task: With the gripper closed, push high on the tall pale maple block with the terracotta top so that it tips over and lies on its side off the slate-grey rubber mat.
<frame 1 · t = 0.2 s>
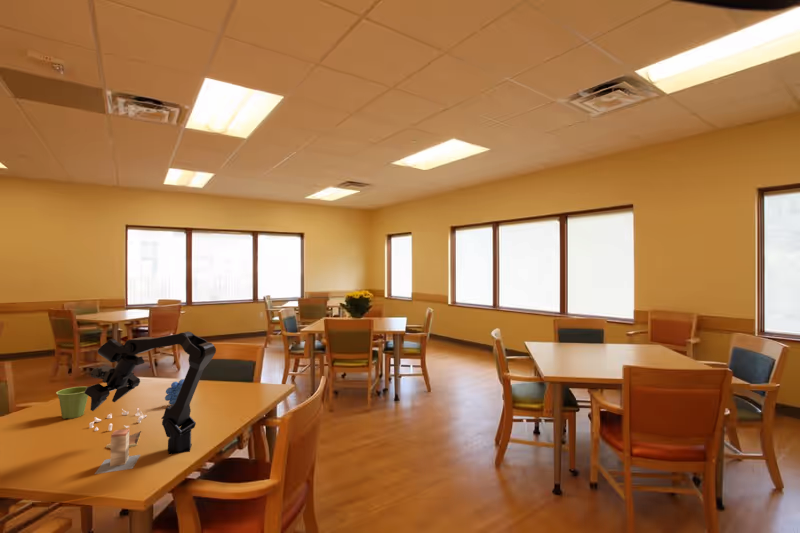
hand: (103, 405, 138), 14 cm above the table, tool tilted 30°, fingers open, 9 cm apart
grapes: (178, 404, 183), on the table
mat: (118, 465, 124), on the table
block: (119, 462, 125), resting on mat
game piece set: (118, 423, 160), on the table
plant pot: (73, 416, 166), on the table
shard: (123, 445, 140), on the table
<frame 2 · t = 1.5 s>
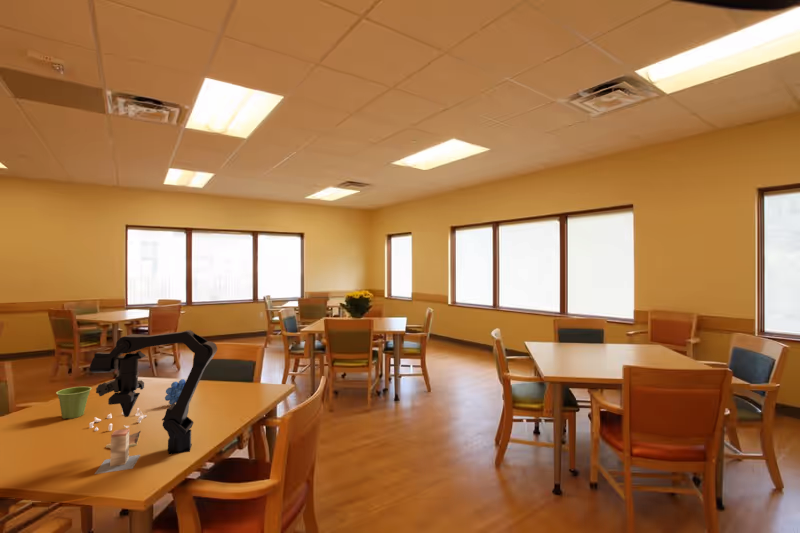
hand: (126, 416, 132), 13 cm above the table, tool pointing down, fingers closed
nothing on the table moved.
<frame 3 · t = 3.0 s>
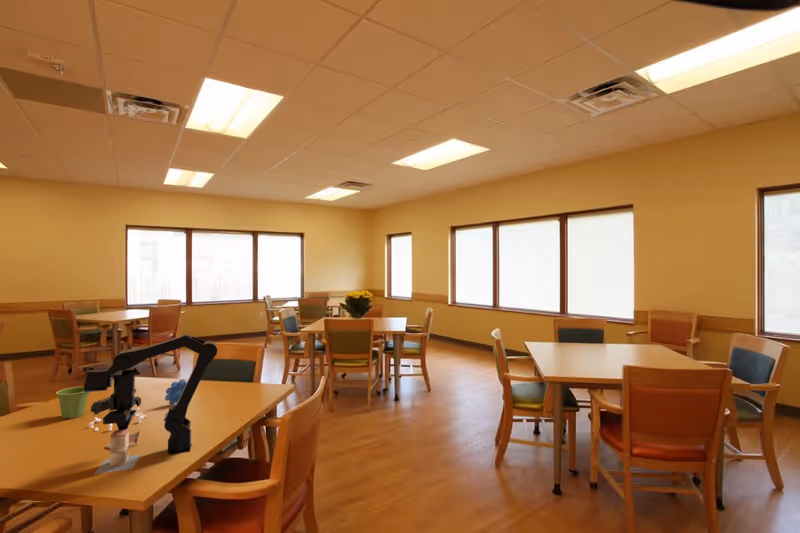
hand: (122, 435, 128), 8 cm above the table, tool pointing down, fingers closed
block: (119, 462, 125), point 1 cm above the table, touching gripper, mat
everything else where it was.
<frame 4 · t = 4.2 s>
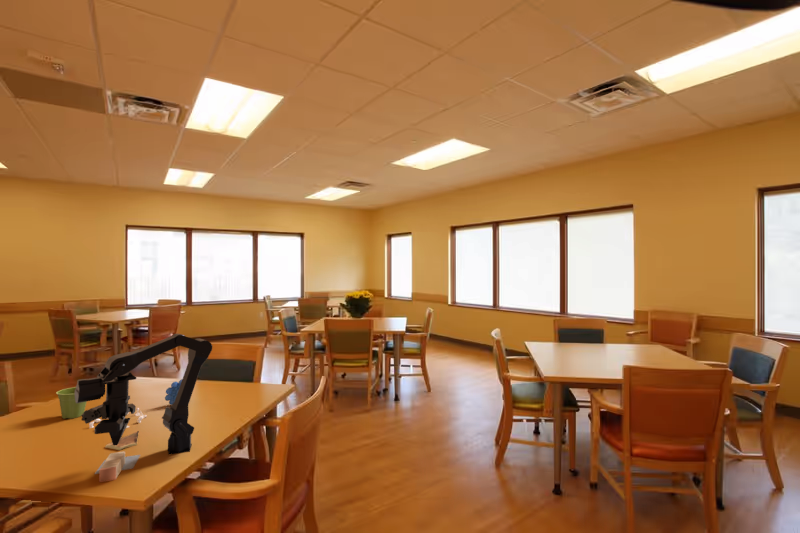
hand: (115, 444, 121), 8 cm above the table, tool pointing down, fingers closed
block: (117, 458, 123), point 3 cm above the table, tilted 94°, touching mat
everything else where it was.
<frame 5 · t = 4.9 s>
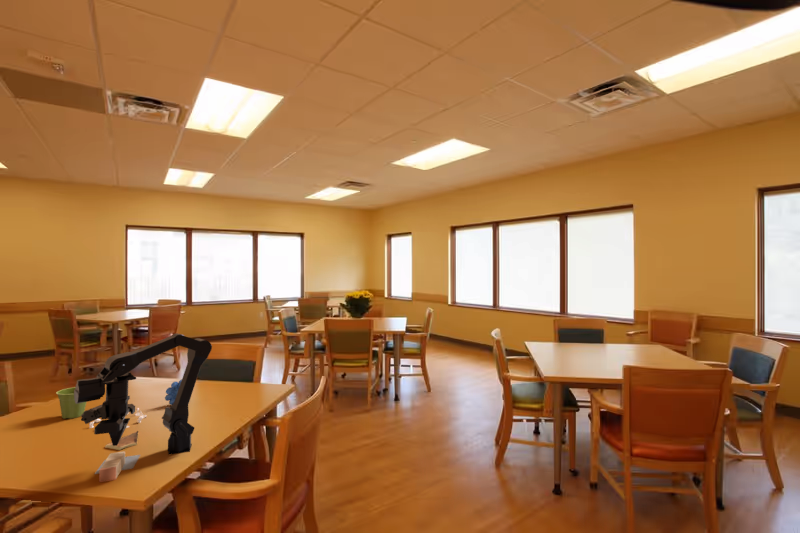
hand: (115, 445, 121), 8 cm above the table, tool pointing down, fingers closed
nothing on the table moved.
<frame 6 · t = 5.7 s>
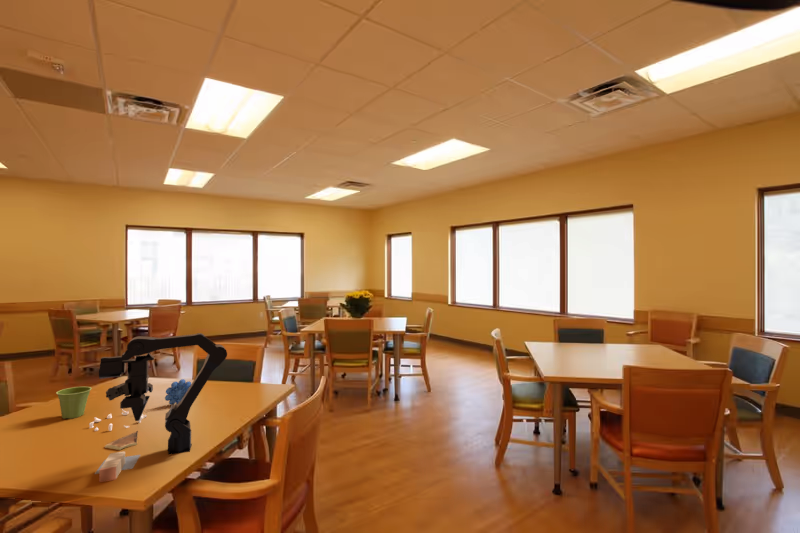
hand: (137, 420, 129), 13 cm above the table, tool pointing down, fingers closed
nothing on the table moved.
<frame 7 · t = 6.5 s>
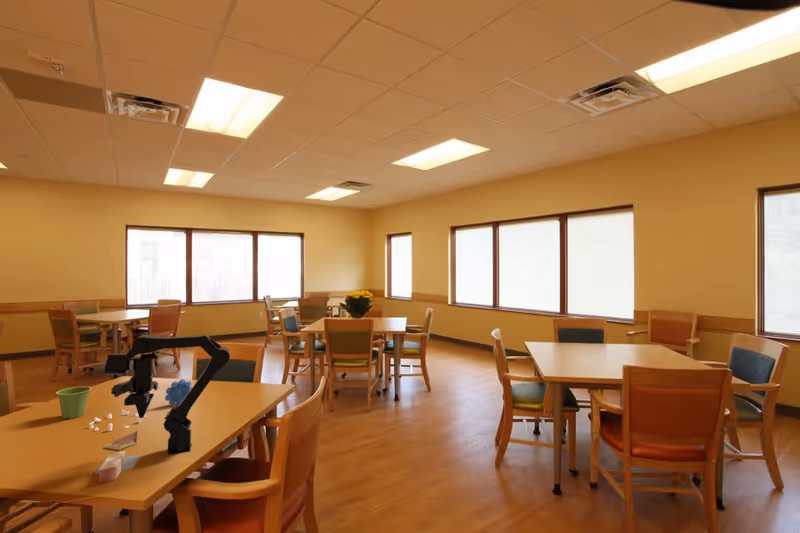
hand: (141, 417, 131), 13 cm above the table, tool pointing down, fingers closed
nothing on the table moved.
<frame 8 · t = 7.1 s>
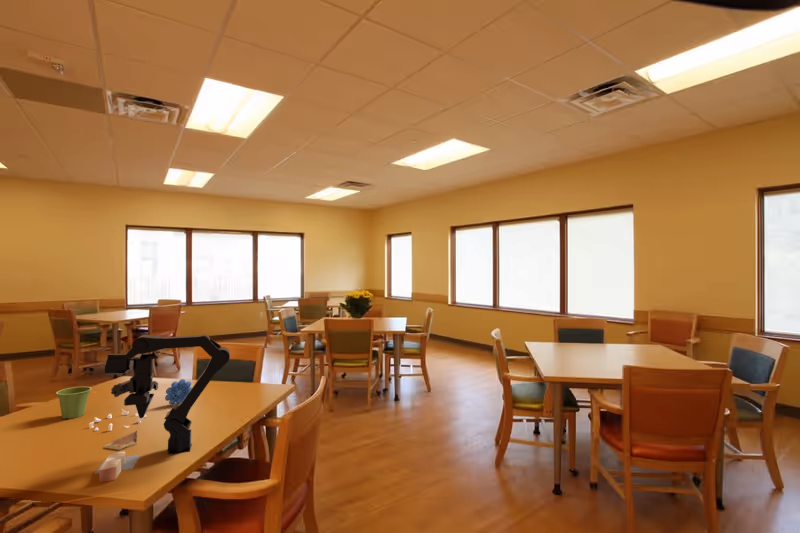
hand: (141, 417, 131), 13 cm above the table, tool pointing down, fingers closed
nothing on the table moved.
at the end: block tilted 94°; block inside the target area on the mat (0.1 cm from its centre), point 2.7 cm above the mat's base; block touching mat, table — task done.
